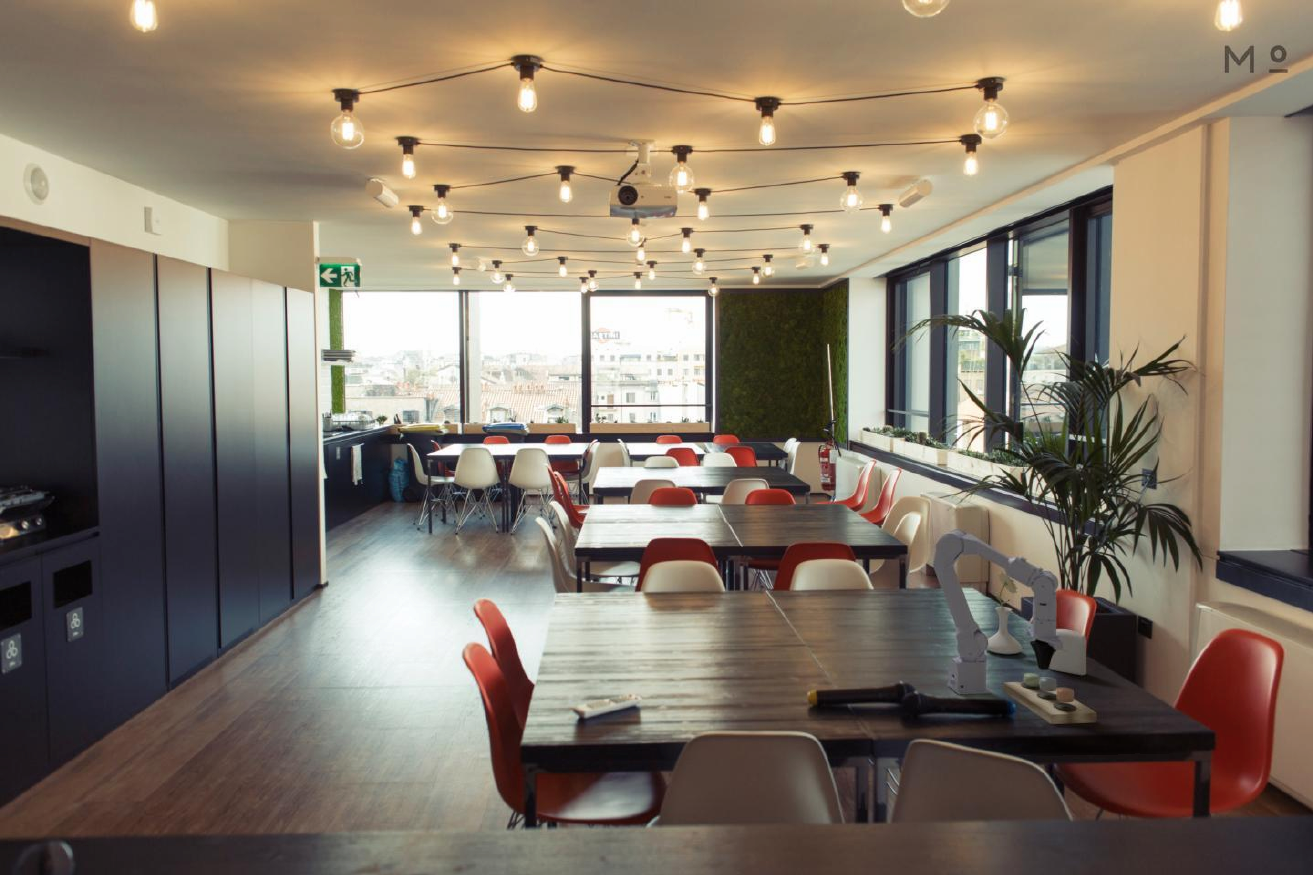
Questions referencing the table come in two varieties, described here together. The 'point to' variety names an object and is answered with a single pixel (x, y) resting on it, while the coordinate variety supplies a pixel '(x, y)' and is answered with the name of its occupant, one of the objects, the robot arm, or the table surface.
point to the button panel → (1049, 704)
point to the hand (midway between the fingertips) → (1043, 668)
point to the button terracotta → (1065, 694)
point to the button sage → (1031, 679)
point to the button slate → (1047, 684)
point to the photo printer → (1070, 653)
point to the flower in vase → (1004, 624)
